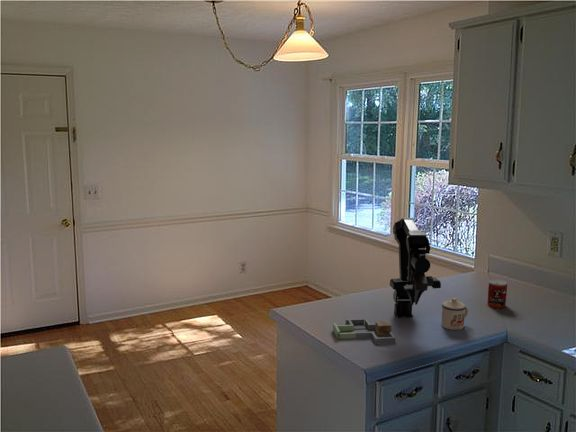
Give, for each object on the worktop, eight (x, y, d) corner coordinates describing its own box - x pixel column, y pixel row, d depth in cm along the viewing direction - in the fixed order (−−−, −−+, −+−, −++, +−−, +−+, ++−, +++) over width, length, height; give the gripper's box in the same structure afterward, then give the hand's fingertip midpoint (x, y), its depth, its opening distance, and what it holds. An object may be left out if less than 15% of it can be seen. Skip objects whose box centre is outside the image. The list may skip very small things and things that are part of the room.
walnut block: (387, 330, 214) (387, 320, 214) (391, 335, 209) (391, 325, 209) (375, 330, 214) (375, 321, 213) (378, 335, 209) (378, 325, 208)
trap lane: (381, 322, 222) (381, 315, 221) (395, 342, 202) (396, 335, 201) (330, 324, 219) (330, 317, 219) (340, 345, 200) (340, 337, 199)
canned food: (486, 307, 240) (488, 283, 238) (487, 301, 247) (489, 278, 245) (505, 309, 237) (507, 285, 235) (505, 303, 244) (507, 280, 242)
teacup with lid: (451, 332, 212) (453, 303, 210) (436, 324, 220) (437, 296, 218) (474, 327, 217) (476, 299, 215) (458, 319, 225) (460, 292, 223)
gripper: (398, 272, 199) (397, 312, 202) (447, 270, 201) (445, 311, 204) (389, 264, 210) (388, 302, 213) (436, 263, 212) (434, 301, 215)
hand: (414, 304), depth 211 cm, fingers closed
